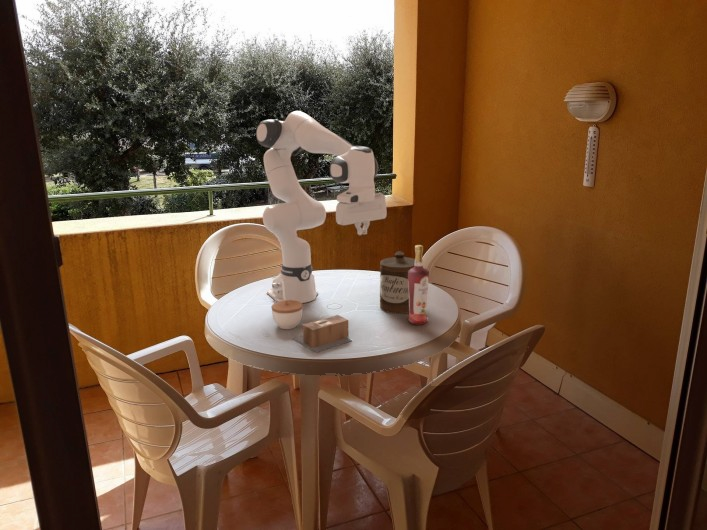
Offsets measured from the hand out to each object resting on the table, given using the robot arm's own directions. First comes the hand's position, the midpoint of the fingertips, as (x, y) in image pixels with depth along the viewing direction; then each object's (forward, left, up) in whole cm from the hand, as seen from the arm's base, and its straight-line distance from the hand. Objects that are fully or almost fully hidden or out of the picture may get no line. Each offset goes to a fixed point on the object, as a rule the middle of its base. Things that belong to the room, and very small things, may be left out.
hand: (362, 234), depth 194 cm
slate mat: (+7, -23, -31) cm, 39 cm away
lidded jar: (-11, -25, -31) cm, 42 cm away
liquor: (+16, +12, -31) cm, 37 cm away
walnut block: (+8, -15, -28) cm, 33 cm away
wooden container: (0, +18, -31) cm, 36 cm away
